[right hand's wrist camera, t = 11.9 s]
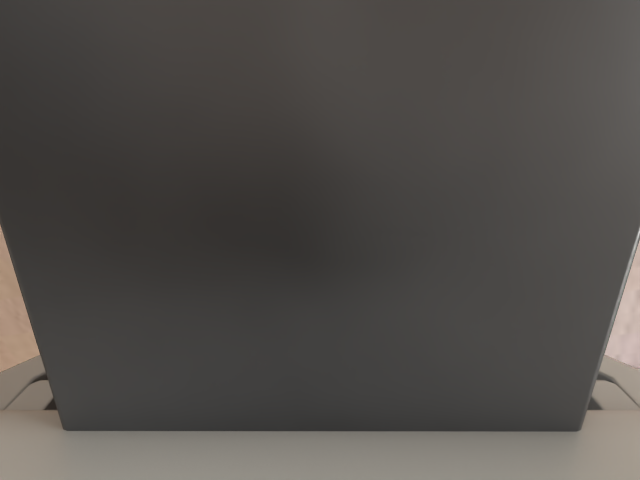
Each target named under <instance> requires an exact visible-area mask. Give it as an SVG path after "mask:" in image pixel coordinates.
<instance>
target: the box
mask: <svg viewBox="0 0 640 480" xmlns="http://www.w3.org/2000/svg"><path fill="white" fill-rule="evenodd" d="M0 224H1V228H2V231H3V234H4V238H5V241H6V244H7V247H8V251H9V254H10V257H11V260H12V264H13V267H14V270H15V273H16V277H17V280H18V283H19V287H20V290H21V293H22V296H23V300H24V303H25V306H26V309H27V313H28V316H29V319H30V323H31V326H32V329H33V332H34V336H35V339H36V342H37V345H38V349H39V352H40V355H41V359H42V362H43V365H44V368H45V372H46V375H47V378H48V381H49V385H50V388H51V391H52V395H53V398H54V401H55V404H56V408H57V411H58V414H59V417H60V421H61V424H62V427H63V430H66V431H493V432H577V431H580V430H581V428H582V425H583V422H584V418H585V415H586V412H587V409H588V405H589V402H590V399H591V396H592V392H593V389H594V386H595V383H596V379H597V376H598V373H599V370H600V366H601V363H602V360H603V357H604V353H605V350H606V347H607V344H608V340H609V337H610V334H611V331H612V327H613V324H614V321H615V318H616V314H617V311H618V308H619V305H620V301H621V298H622V295H623V292H624V288H625V285H626V282H627V279H628V275H629V272H630V269H631V266H632V262H633V259H634V256H635V253H636V249H637V246H638V243H639V240H640V0H0Z"/></svg>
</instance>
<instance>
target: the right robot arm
mask: <svg viewBox="0 0 640 480" xmlns="http://www.w3.org/2000/svg"><path fill="white" fill-rule="evenodd" d="M0 480H640V369H636V368H634V367H632V366H629V365H627V364H625V363H622V362H620V361H618V360H616V359H613V358H611V357H609V356H606V355H604V357H603V360H602V363H601V366H600V370H599V373H598V376H597V379H596V383H595V386H594V389H593V392H592V396H591V399H590V402H589V405H588V409H587V412H586V415H585V418H584V422H583V425H582V428H581V430H580V431H577V432H493V431H66V430H63V427H62V424H61V421H60V417H59V414H58V411H57V408H56V404H55V401H54V398H53V395H52V391H51V388H50V385H49V381H48V378H47V375H46V372H45V368H44V365H43V362H42V359H41V355H39V356H36V357H34V358H32V359H29V360H27V361H25V362H23V363H20V364H18V365H16V366H14V367H11V368H9V369H7V370H5V371H2V372H0Z"/></svg>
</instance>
